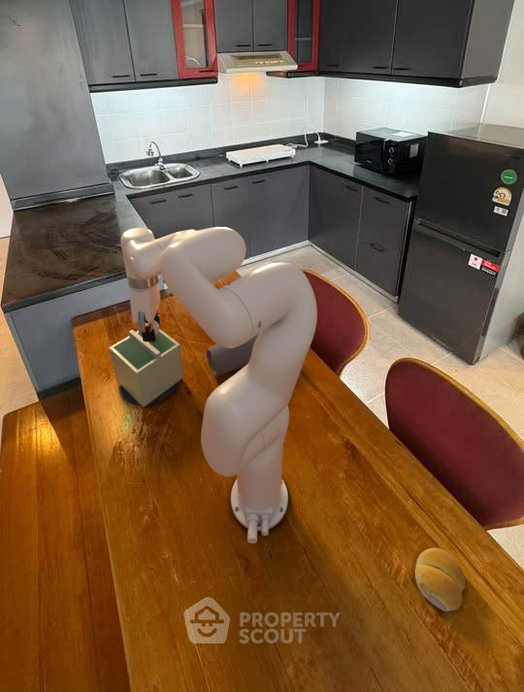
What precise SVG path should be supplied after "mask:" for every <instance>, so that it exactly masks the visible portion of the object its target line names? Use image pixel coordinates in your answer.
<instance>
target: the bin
mask: <svg viewBox="0 0 524 692" xmlns="http://www.w3.org/2000/svg"><path fill="white" fill-rule="evenodd" d="M128 334H129V335H128V336H126V337H125V338H123V339H121V340H119V341H118V342H116V343H115V344H113V345H111V346H109V348H108V349H109V352H110V358H111V362H112V366H113V371H114V376H115V379H116V381H117V383H119V384H120V386H121V385H122V386H123V387H124V388H125V389H126V390H127V391H128V392H129V393H130V394H131V395H132V396H133V397H134V398H135V399H136V400H137V401H138V402H139V403H140V404H141V405H142V406H141V407H142V408H144V407H147V406H146V405H147V404H149V403H150V402H151V401H153V400H154V399H155V398H157V397H158V396H159V395H161V394H162V393H163V392H165V391H166V390H167V389H169V388H170V387H171V386H173V385H174V384H175V383H177V382H178V381H179V380H180V381H181V380H182V379H184V378H185V375H184V374H185V373H184V366H183V357H182V350H181V349H182V348H181V344H180V342H177V341H176V340H175V339H174V338H173V337H171V336H170V335H168V334H167V333H166V332H164V331H163V330H162V329H161V328H159V332H158V333H157V335H155V337H156V341H155V342H144V341H143V337H142V332H139V331H138V330H137V331H135V330H134V329H131V330H129V331H128ZM180 381H179V382H180Z"/></svg>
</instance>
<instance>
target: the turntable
mask: <svg viewBox="0 0 524 692" xmlns="http://www.w3.org/2000/svg"><path fill="white" fill-rule="evenodd" d="M180 381H181V380H179V381H178V382H177V383H175V384H174V385H173V386H171V387H170V388H169V389H167V390H166V391H165V392H163V393H162V394H161V395H159V396H158V397H157V398H155V399H154V400H153V401H151V402H150V403H149V404H147V405H146V406H145V407H149V406H153V405H156V404H157V405H158V403H162V402H164V401H165V400H166V399H168V398H170V397H171V395H173V393H174V392H175V391H176V390H177V388H178V387H179V384H180ZM120 392H121V394H122V397H123V398H124V400H125V401H126V402H128V403H129V404H130V405H134V406H138V407H143V406H142V405H141V404H140V403H139V402H138V401H137V400H136V399H135V398H134V397H133V396H132V395H131V394H130V393H129V392H128V391H127V390H126V389H125V388H124V387H123V386H122V385H121V384H120Z"/></svg>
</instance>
